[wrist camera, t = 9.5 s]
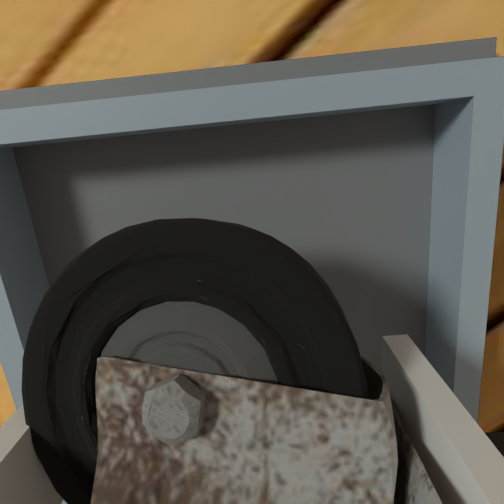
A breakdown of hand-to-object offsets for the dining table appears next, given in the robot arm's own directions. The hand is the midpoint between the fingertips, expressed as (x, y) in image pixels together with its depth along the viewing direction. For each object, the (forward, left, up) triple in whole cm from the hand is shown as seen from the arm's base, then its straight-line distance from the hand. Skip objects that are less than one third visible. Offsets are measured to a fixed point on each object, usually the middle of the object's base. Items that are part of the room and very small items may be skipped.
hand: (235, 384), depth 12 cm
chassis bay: (0, 0, -5) cm, 5 cm away
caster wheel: (0, 0, 0) cm, 1 cm away
